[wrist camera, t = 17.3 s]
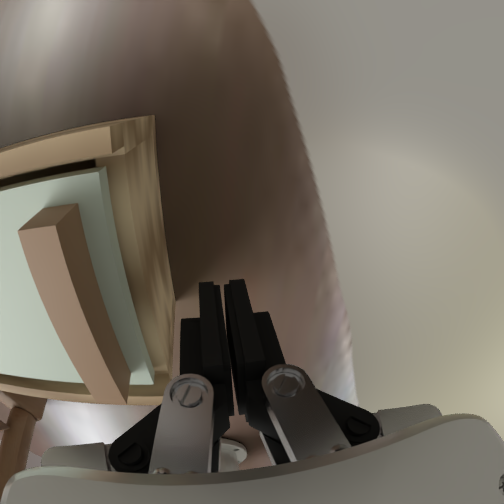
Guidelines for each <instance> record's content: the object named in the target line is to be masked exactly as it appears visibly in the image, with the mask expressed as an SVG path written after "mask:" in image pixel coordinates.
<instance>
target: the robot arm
mask: <svg viewBox="0 0 504 504" xmlns="http://www.w3.org/2000/svg"><path fill="white" fill-rule="evenodd" d="M224 297H225V314H226V329H225V322H224V315H223V308H222V300H221V293H220V286H219V285H214V283H213V282H200V283H199V304H200V318H186V319H181V332H180V376H177V377H175V378H174V379H172V380H171V381H170V382H169V383H168V384H167V386H166V388H165V391H164V395H163V400H162V403H161V404H160V405H159V406H158V407H156V408H155V409H154V410H153V411H152V412H150V413H149V414H148V415H147V416H145V417H144V418H143V419H142V420H140V421H139V422H138V423H137V424H135V425H134V426H133V427H131V428H130V429H129V430H128V431H126V432H125V433H124V434H122V435H121V436H120V437H119V438H117V439H116V440H115V441H114V442H113V443H112V444H104V443H103V442H101V443H92V444H83V445H72V446H57V447H52V448H49V449H48V450H46V451H45V452H44V454H43V455H42V459H41V467H34V468H29V469H25V470H23V471H20V472H18V473H16V474H14V475H13V476H12V477H11V478H10V479H9V480H8V482H7V484H6V485H5V488H4V491H3V494H2V498H1V502H0V504H504V441H503V440H502V439H501V437H500V436H499V434H498V433H497V432H496V430H495V429H494V428H493V427H492V426H491V425H490V424H489V422H487V421H486V420H485V419H484V418H482V417H480V416H477V415H474V414H451V415H444V416H442V414H441V412H440V410H439V409H437V408H436V407H435V406H433V405H430V404H422V405H415V406H409V407H401V408H393V409H385V410H378V412H377V413H370V412H369V411H367V410H365V409H362V408H360V407H357V406H355V405H352V404H350V403H348V402H345V401H343V400H341V399H338V398H336V397H334V396H331V395H329V394H327V393H325V392H322V391H320V390H318V389H316V388H315V386H314V384H313V383H312V381H311V379H310V378H309V376H308V375H307V373H306V372H305V371H304V370H303V369H301V368H299V367H298V366H295V365H292V364H286V363H285V360H284V357H283V354H282V351H281V348H280V345H279V341H278V338H277V335H276V332H275V329H274V326H273V323H272V320H271V317H270V315H269V312H268V311H267V312H257V313H253V311H252V307H251V304H250V300H249V296H248V292H247V288H246V284H245V281H244V279H239V280H229V284H225V285H224ZM226 331H227V336H226ZM227 342H228V343H227ZM230 363H231V364H230ZM231 369H232V375H233V381H234V388H235V394H236V400H237V405H238V411H239V415H243V414H245V417H246V422H249V425H250V426H251V427H253V428H255V429H257V430H258V431H259V434H260V437H261V439H262V442H263V444H264V446H265V449H266V451H267V453H268V456H269V458H270V460H271V463H272V465H273V466H268V467H261V468H254V469H247V470H239V465H238V464H239V463H241V462H242V461H244V460H245V458H246V457H247V451H246V448H245V446H243V445H242V444H241V443H238V442H236V441H233V440H229V439H223V438H221V436H222V435H223V434H224V433H225V432H226V431H227V430H228V429H229V428H230V422H229V416H234V404H233V390H232V376H231Z"/></svg>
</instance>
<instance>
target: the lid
mask: <svg viewBox="0 0 504 504" xmlns="http://www.w3.org/2000/svg"><path fill="white" fill-rule="evenodd" d="M0 373H1V374H6V375H13V376H19V377H26V378H34V379H42V380H51V381H62V382H74V383H84V384H85V385H86V387H87V388H88V390H89V392H90V393H91V395H92V396H93V398H94V399H95V401H96V402H97V403H99V404H120V405H127V400H128V392H129V385H151V384H154V375H155V371H154V368H153V366H152V363H151V360H150V357H149V354H148V351H147V348H146V345H145V342H144V339H143V335H142V332H141V329H140V326H139V322H138V319H137V315H136V312H135V308H134V305H133V301H132V297H131V294H130V290H129V286H128V282H127V278H126V274H125V270H124V265H123V261H122V257H121V252H120V247H119V243H118V238H117V233H116V227H115V222H114V216H113V211H112V205H111V199H110V192H109V185H108V178H107V170H106V166H104V167H97V168H91V169H85V170H79V171H73V172H68V173H62V174H57V175H52V176H47V177H42V178H38V179H33V180H29V181H24V182H20V183H16V184H12V185H8V186H4V187H0Z"/></svg>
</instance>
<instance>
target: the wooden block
mask: <svg viewBox="0 0 504 504" xmlns="http://www.w3.org/2000/svg"><path fill="white" fill-rule="evenodd" d="M0 401H1V402H2V403H3V404H4V405H6V406H7V407H8V408H10V409H11V411H10V414H9V417H8V420H7V423H6V424H5V423H3V422H2V421H1V420H0V432H1V431H4V434H3V437H2V441H1V445H0V502H1V498H2V494H3V491H4V488H5V485H6V484H7V482H8V480H9V479H10V478H11V477H12V476H13V475H14V474H16V473H18V472H20V471H23V470H25V468H26V463H27V458H28V453H29V449H30V444H31V440H32V436H33V432H34V428H35V424H36V421H39V420H41V419H42V416H43V412H44V409H45V405H46V402H47V398H40V397H33V396H27V395H22V394H16V393H11V392H6V391H1V390H0Z"/></svg>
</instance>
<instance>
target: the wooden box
mask: <svg viewBox="0 0 504 504" xmlns="http://www.w3.org/2000/svg"><path fill="white" fill-rule="evenodd" d="M104 166H106V170H107V178H108V185H109V192H110V199H111V205H112V211H113V216H114V222H115V227H116V233H117V238H118V243H119V247H120V252H121V257H122V261H123V265H124V270H125V274H126V278H127V282H128V286H129V290H130V294H131V297H132V301H133V305H134V308H135V312H136V315H137V319H138V322H139V326H140V329H141V332H142V335H143V339H144V342H145V345H146V348H147V351H148V354H149V357H150V360H151V363H152V366H153V368H154V371H155V375H154V384H151V385H129V392H128V400H127V405H160V404H161V403H162V400H163V395H164V391H165V388H166V386H167V384H168V383H169V382H170V381H171V380H172V364H173V338H174V319H175V304H176V301H175V295H174V290H173V284H172V278H171V271H170V265H169V258H168V251H167V244H166V237H165V229H164V221H163V212H162V204H161V194H160V184H159V173H158V161H157V147H156V130H155V115H148V116H140V117H132V118H126V119H119V120H113V121H107V122H101V123H96V124H91V125H86V126H81V127H76V128H72V129H67V130H63V131H59V132H55V133H51V134H47V135H43V136H39V137H36V138H32V139H29V140H25V141H22V142H19V143H15V144H12V145H9V146H6V147H3V148H0V187H4V186H8V185H12V184H16V183H20V182H24V181H29V180H33V179H38V178H42V177H47V176H52V175H57V174H62V173H68V172H73V171H79V170H85V169H91V168H97V167H104ZM0 390H1V391H6V392H11V393H16V394H22V395H27V396H33V397H40V398H47V399H54V400H62V401H72V402H82V403H96V404H99V403H97V402H96V401H95V399H94V398H93V396H92V395H91V393H90V392H89V390H88V388H87V387H86V385H85V384H84V383H74V382H62V381H51V380H42V379H34V378H26V377H19V376H13V375H6V374H1V373H0ZM114 405H120V404H114Z"/></svg>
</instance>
